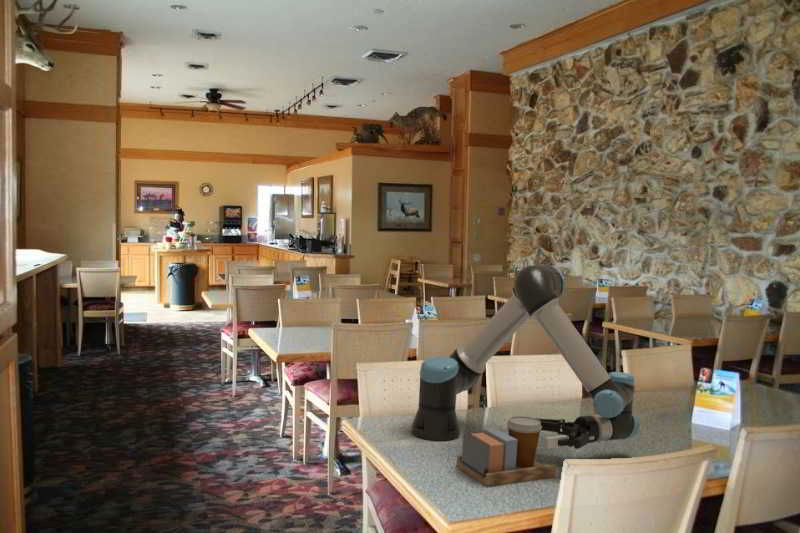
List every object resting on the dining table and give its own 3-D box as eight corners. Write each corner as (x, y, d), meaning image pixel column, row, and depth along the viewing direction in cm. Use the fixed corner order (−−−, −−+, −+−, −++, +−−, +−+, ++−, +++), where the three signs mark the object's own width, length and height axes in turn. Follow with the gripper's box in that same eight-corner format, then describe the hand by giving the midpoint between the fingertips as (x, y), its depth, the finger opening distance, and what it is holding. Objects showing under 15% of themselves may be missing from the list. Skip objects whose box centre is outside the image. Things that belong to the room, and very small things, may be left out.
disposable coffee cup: (534, 458, 188) (537, 416, 187) (543, 470, 178) (546, 426, 178) (501, 456, 187) (503, 414, 187) (507, 469, 178) (510, 425, 177)
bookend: (465, 462, 181) (467, 431, 181) (487, 477, 171) (489, 444, 171) (460, 463, 181) (462, 432, 180) (482, 477, 171) (484, 445, 170)
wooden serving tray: (520, 457, 192) (521, 447, 192) (555, 476, 178) (555, 465, 178) (456, 465, 183) (457, 454, 183) (487, 486, 169) (488, 475, 169)
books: (491, 459, 185) (493, 427, 185) (515, 473, 175) (517, 439, 175) (466, 462, 181) (468, 429, 181) (488, 477, 172) (490, 442, 171)
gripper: (622, 456, 181) (559, 464, 172) (562, 428, 203) (504, 434, 194) (624, 428, 180) (561, 435, 171) (564, 404, 203) (506, 409, 194)
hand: (531, 435), depth 183 cm, fingers open, 13 cm apart
